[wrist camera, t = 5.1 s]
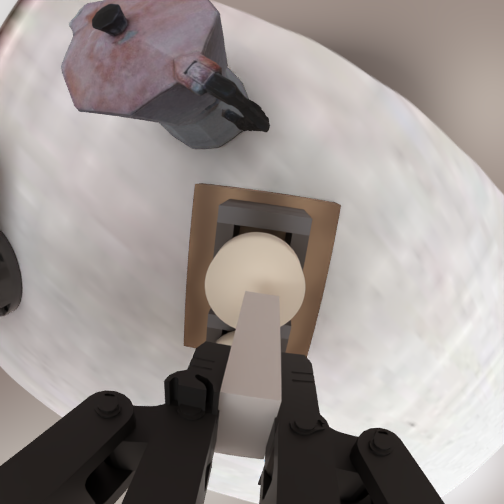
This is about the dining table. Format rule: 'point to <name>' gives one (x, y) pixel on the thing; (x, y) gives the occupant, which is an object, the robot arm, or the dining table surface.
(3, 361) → the dining table surface
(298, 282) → the plunger near
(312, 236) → the mount
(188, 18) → the moka pot
